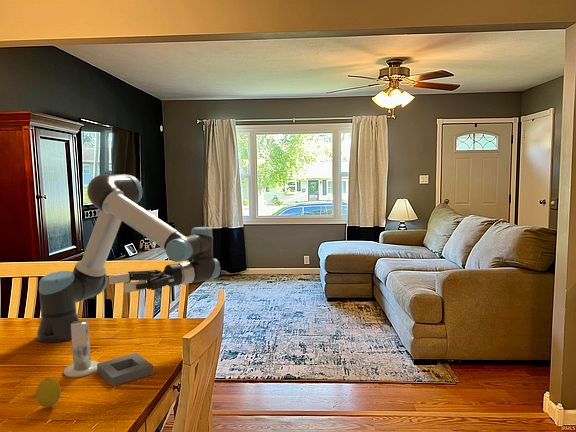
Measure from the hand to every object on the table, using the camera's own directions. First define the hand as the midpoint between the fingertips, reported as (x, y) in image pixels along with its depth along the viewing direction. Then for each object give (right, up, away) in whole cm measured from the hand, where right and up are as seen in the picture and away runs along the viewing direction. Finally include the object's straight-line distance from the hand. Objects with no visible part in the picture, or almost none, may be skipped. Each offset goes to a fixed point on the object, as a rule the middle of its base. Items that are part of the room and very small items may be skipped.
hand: (116, 284), depth 139 cm
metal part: (-8, -25, -5) cm, 27 cm away
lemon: (-6, -27, -27) cm, 39 cm away
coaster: (-8, -25, -5) cm, 27 cm away
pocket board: (+6, -25, -8) cm, 27 cm away
